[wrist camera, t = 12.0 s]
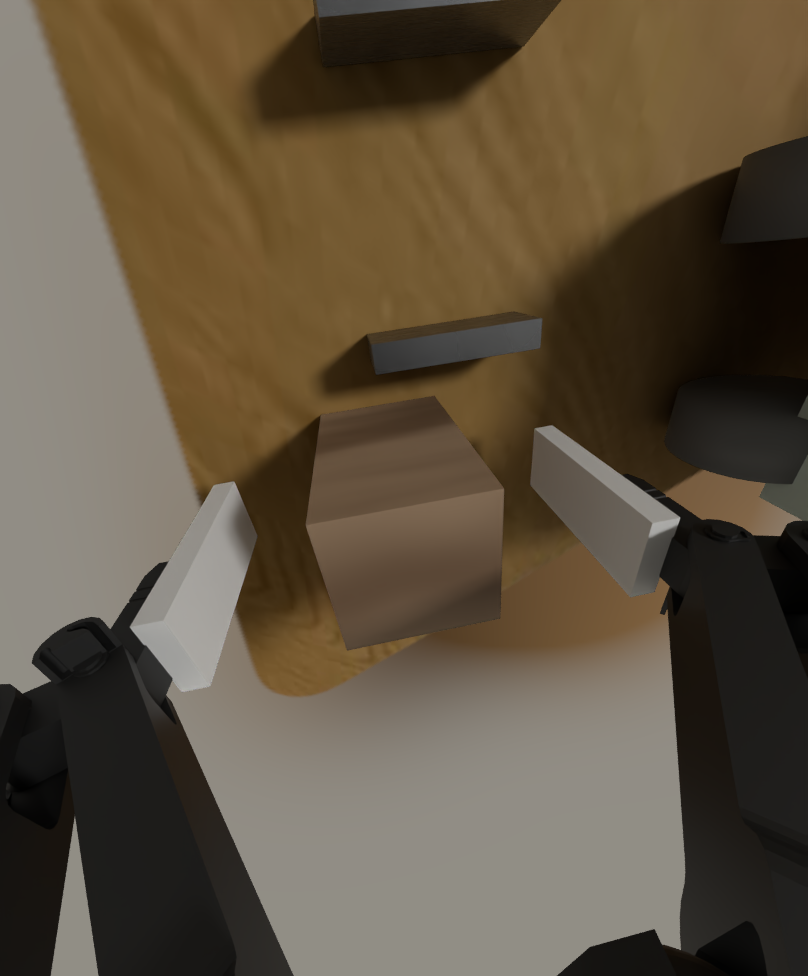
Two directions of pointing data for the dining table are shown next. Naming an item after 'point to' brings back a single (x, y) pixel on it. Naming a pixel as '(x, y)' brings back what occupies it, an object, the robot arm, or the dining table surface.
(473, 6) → the grey blocks
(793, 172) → the trolley
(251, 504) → the dining table surface
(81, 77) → the dining table surface
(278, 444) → the dining table surface
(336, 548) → the brown rectangular block
